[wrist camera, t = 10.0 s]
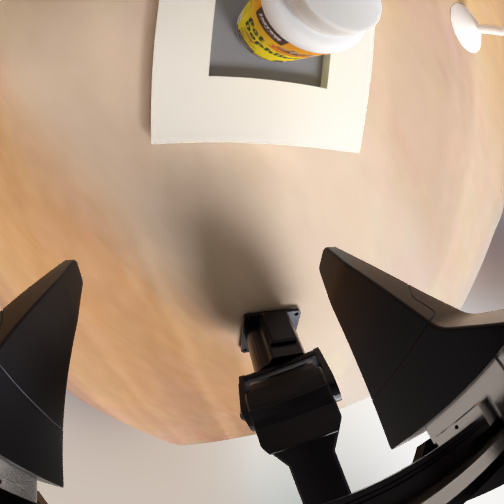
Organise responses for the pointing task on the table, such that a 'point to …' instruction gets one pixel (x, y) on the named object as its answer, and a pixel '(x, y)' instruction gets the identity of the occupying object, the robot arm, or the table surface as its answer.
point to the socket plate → (250, 85)
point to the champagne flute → (470, 28)
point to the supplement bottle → (304, 27)
